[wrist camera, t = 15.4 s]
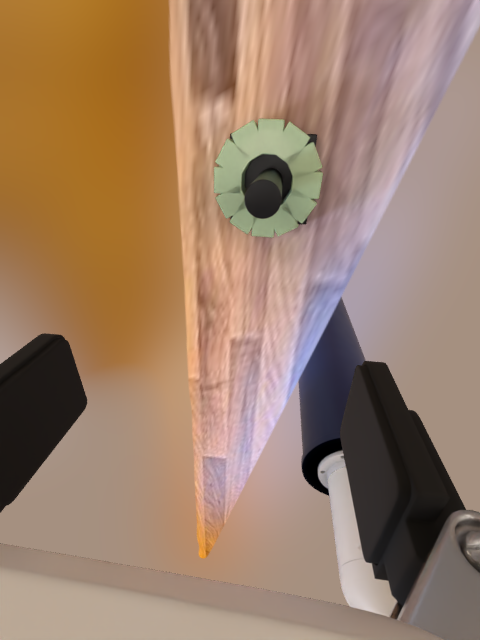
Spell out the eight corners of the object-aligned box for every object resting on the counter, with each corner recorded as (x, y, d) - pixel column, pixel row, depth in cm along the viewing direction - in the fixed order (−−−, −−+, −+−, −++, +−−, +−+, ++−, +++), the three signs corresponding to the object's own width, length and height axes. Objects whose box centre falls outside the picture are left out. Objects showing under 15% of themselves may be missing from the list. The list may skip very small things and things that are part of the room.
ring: (327, 123, 27) (331, 121, 25) (310, 233, 32) (312, 240, 29) (219, 119, 28) (213, 116, 25) (219, 227, 33) (214, 233, 30)
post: (316, 134, 28) (337, 126, 17) (305, 222, 32) (317, 262, 21) (231, 133, 29) (198, 125, 18) (231, 219, 33) (204, 256, 22)
